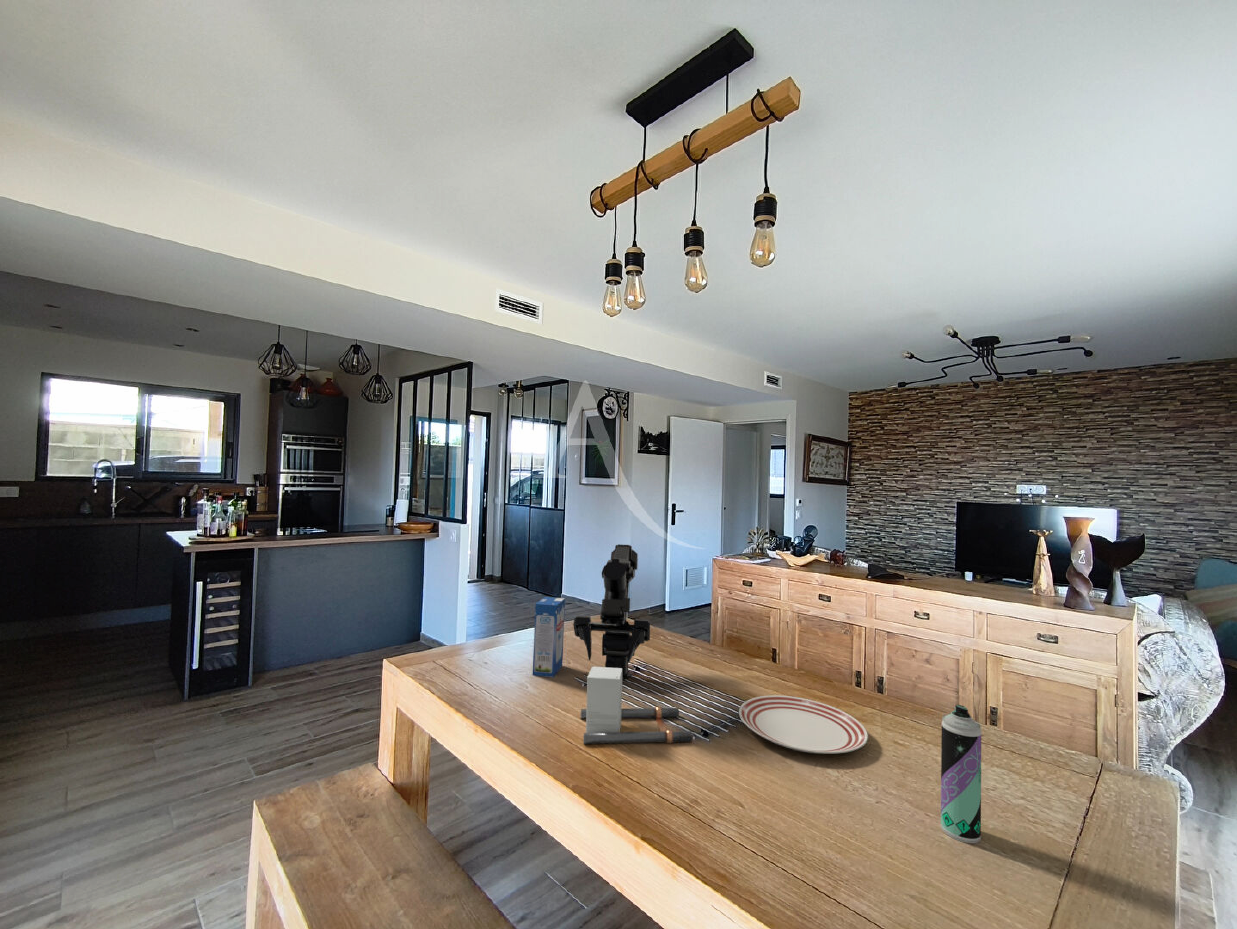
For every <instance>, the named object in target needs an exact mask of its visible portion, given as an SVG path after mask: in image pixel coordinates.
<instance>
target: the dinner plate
mask: <svg viewBox="0 0 1237 929" xmlns="http://www.w3.org/2000/svg"><path fill="white" fill-rule="evenodd" d="M738 709H739V710H738V715H739V718H740V720H741V722H742V723H744V725H745V726H746V727H747V728H748V729H750V730H751V731H752V732H754V733H755V734H757V735H758V736H759V737H761V738H763V739H765V740H766V741H769V742H771V743H774V744H775V745H778V746H781V747H784V748H786V749H790V750H793V751H797V752H803V753H809V754H820V755H821V754H822V755H823V754H824V755H825V754H826V755H828V754H830V755H831V754H844V753H850V752H854V751H857V750H860V749H861V748H862V747H863V746H865V745H866V744H867V742H868V739H869V734H868V732H867V730H866V728H865V727H864V725H863V724H862V723H861V722H860V721H858V720H857V719H856V718H854V717H853V716H851V714H849V713H846V712H844V711H843V710H841V709H839V708H836V707H834V706H831V705H828V704H826V703H822V702H819V701H816V700H812V699H807V698H803V697H797V696H791V695H790V696H788V695H779V694H778V695H775V694H772V695H771V694H770V695H760V696H756V697H753V698H750V699H748V700H746V701H744V702H743V703H742V704H741V705H740V707H739V708H738Z"/></svg>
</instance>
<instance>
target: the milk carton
mask: <svg viewBox="0 0 1237 929" xmlns="http://www.w3.org/2000/svg"><path fill="white" fill-rule="evenodd" d="M565 609H566V597H551V596H544V597H543V598H542V599H540V600H539V601H537V602H536V603H535V609H534V610H535V611H534V629H533V630H534V633H533V634H534V635H533V651H532V652H533V654H532V655H533V656H532V658H533V659H532V676H539V677H550V678H555V676H556V675H557V674H558V672H559V671H560V669H561V668H562V667H563V660H564V658H563V657H564V634H565V630H564V629H565V614H566V613H565V612H566V610H565ZM561 666H562V667H561ZM556 673H557V674H556Z"/></svg>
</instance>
